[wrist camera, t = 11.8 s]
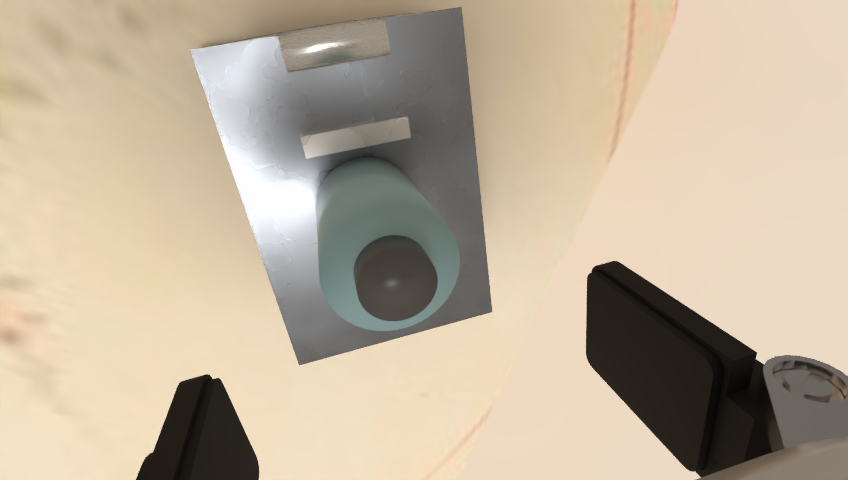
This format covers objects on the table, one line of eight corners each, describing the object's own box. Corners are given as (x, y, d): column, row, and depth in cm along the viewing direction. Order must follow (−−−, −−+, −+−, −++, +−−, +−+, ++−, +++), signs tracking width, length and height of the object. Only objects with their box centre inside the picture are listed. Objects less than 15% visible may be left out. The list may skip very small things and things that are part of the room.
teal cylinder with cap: (303, 170, 21) (300, 236, 13) (406, 147, 22) (460, 197, 14) (330, 263, 23) (341, 367, 15) (423, 239, 24) (478, 326, 16)
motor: (200, 49, 28) (124, 43, 17) (434, 12, 31) (510, -15, 19) (279, 284, 36) (265, 393, 24) (462, 239, 38) (529, 318, 27)
